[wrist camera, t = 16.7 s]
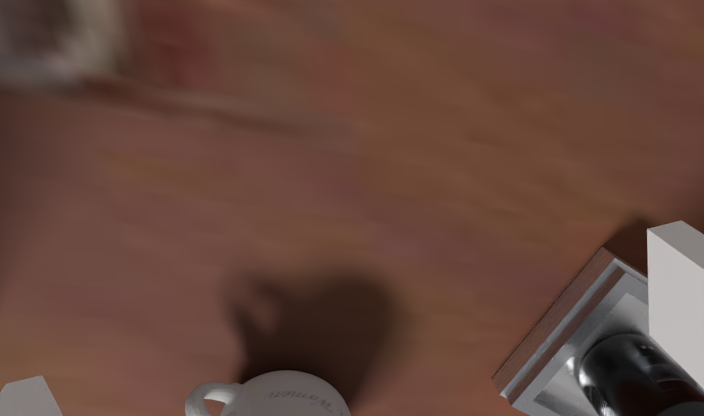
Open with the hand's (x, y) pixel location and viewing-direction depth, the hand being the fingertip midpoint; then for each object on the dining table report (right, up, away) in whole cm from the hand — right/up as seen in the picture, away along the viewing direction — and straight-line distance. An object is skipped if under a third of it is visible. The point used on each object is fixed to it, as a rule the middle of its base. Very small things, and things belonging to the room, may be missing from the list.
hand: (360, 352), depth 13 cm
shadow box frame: (+21, -9, +37) cm, 43 cm away
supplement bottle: (+21, -9, +35) cm, 42 cm away
